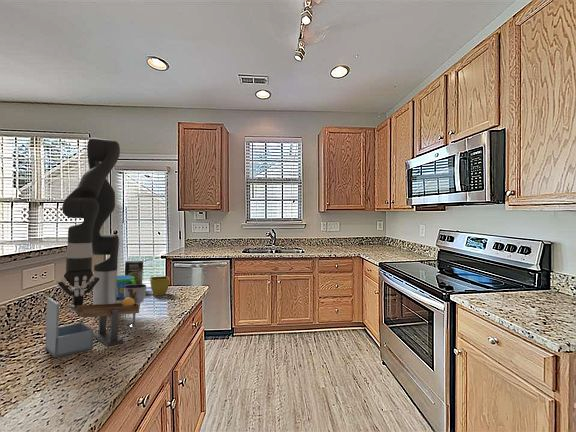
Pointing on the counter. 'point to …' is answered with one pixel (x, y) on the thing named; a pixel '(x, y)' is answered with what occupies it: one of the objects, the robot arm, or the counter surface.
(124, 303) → the ball
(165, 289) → the flower pot
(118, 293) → the snack cup
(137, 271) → the coffee box
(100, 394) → the counter surface
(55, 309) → the grey-blue open bin
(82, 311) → the lever
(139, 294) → the wine glass
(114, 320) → the lever stand
